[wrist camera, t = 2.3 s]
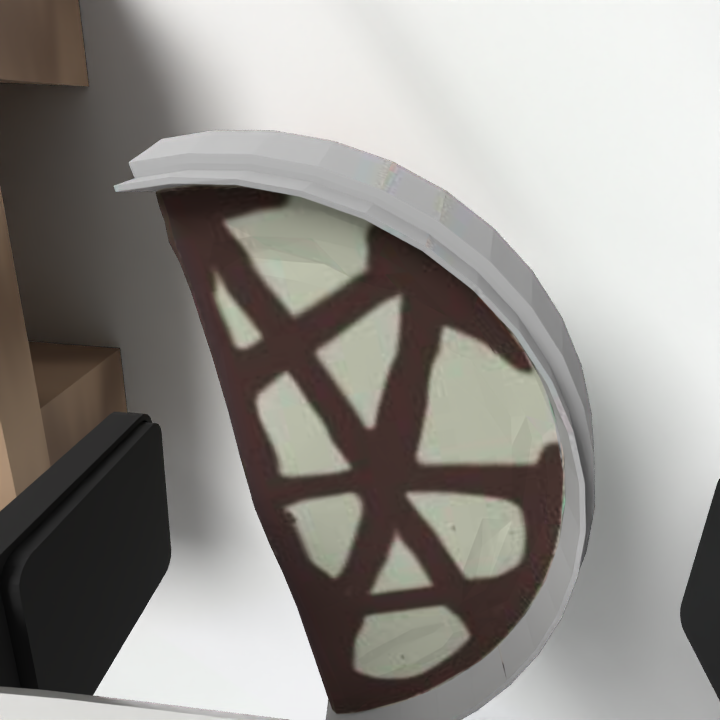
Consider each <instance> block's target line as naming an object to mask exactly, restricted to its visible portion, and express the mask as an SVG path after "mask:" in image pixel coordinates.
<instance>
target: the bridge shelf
mask: <svg viewBox="0 0 720 720" xmlns="http://www.w3.org/2000/svg"><path fill="white" fill-rule="evenodd" d="M0 83H20V84H43V85H67V86H89V83H88V75H87V66H86V58H85V50H84V41H83V33H82V24H81V16H80V7H79V0H0ZM113 412H126V413H127V405H126V396H125V388H124V379H123V371H122V362H121V354H120V348H108V347H95V346H83V345H70V344H57V343H45V342H32V341H28V337H27V332H26V326H25V321H24V315H23V310H22V304H21V298H20V293H19V287H18V282H17V276H16V271H15V265H14V259H13V254H12V248H11V243H10V237H9V232H8V226H7V220H6V215H5V209H4V204H3V198H2V193H1V187H0V511H1V510H2V509H3V508H5V507H6V506H7V505H8V504H9V503H10V502H11V501H12V500H14V499H15V498H16V497H17V496H18V495H19V494H20V493H21V492H23V491H24V490H25V489H26V488H27V487H28V486H29V485H31V484H32V483H33V482H34V481H35V480H36V479H37V478H38V477H40V476H41V475H42V474H43V473H44V472H45V471H46V470H47V469H49V468H50V467H51V466H52V465H53V464H54V463H55V462H57V461H58V460H59V459H60V458H61V457H62V456H63V455H64V454H66V453H67V452H68V451H69V450H70V449H71V448H72V447H73V446H75V445H76V444H77V443H78V442H79V441H80V440H81V439H83V438H84V437H85V436H86V435H87V434H88V433H89V432H90V431H92V430H93V429H94V428H95V427H96V426H97V425H98V424H99V423H101V422H102V421H103V420H104V419H105V418H106V417H107V416H108V415H110V414H111V413H113Z"/></svg>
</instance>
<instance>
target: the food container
mask: <svg viewBox="0 0 720 720" xmlns="http://www.w3.org/2000/svg"><path fill="white" fill-rule="evenodd" d="M128 163H129V165H130V168H131V171H132V173H133V176H134V179H131V180H128V181H125V182H123V183H120V184H117V185H114V189H115V191H116V192H141V191H156V196H157V199H158V203H159V207H160V210H161V212H162V215H163V218H164V221H165V225H166V230H167V234H168V239H169V243H170V245H171V247H172V249H173V250H174V252H175V254H176V256H177V258H178V260H179V262H180V264H181V267H182V270H183V272H184V275H185V277H186V280H187V283H188V285H189V288H190V290H191V293H192V296H193V299H194V302H195V305H196V308H197V311H198V314H199V318H200V321H201V324H202V327H203V330H204V333H205V336H206V339H207V342H208V345H209V348H210V351H211V354H212V357H213V361H214V364H215V368H216V371H217V374H218V378H219V381H220V385H221V388H222V391H223V395H224V398H225V401H226V405H227V408H228V412H229V415H230V419H231V423H232V427H233V431H234V435H235V439H236V442H237V446H238V450H239V454H240V458H241V461H242V465H243V468H244V472H245V475H246V479H247V482H248V486H249V489H250V493H251V497H252V500H253V504H254V507H255V510H256V512H257V515H258V517H259V520H260V522H261V524H262V527H263V529H264V532H265V534H266V536H267V539H268V541H269V544H270V546H271V548H272V550H273V552H274V555H275V557H276V559H277V561H278V563H279V565H280V568H281V570H282V572H283V574H284V577H285V579H286V581H287V584H288V586H289V589H290V591H291V594H292V596H293V598H294V601H295V603H296V606H297V608H298V611H299V614H300V617H301V620H302V623H303V626H304V629H305V632H306V634H307V637H308V640H309V643H310V646H311V649H312V652H313V655H314V658H315V661H316V664H317V667H318V669H319V672H320V675H321V678H322V681H323V684H324V687H325V690H326V693H327V696H328V707H327V714H326V720H461V719H463V718H465V717H467V716H468V715H470V714H472V713H474V712H476V711H477V710H479V709H480V708H481V707H483V706H484V705H485V704H486V703H488V702H489V701H490V700H492V699H493V698H494V697H495V696H497V695H498V694H499V693H501V692H502V691H503V690H504V689H506V688H507V687H508V686H510V685H511V684H512V683H513V682H514V680H515V679H516V678H517V677H518V676H519V675H520V674H521V673H522V672H523V671H524V670H525V668H526V667H527V666H528V665H529V664H530V663H531V662H532V661H533V660H534V659H535V658H536V656H537V655H538V654H539V653H540V651H541V650H542V648H543V647H544V645H545V643H546V642H547V640H548V639H549V637H550V635H551V634H552V632H553V631H554V629H555V628H556V626H557V624H558V623H559V621H560V620H561V618H562V616H563V613H564V611H565V608H566V605H567V603H568V600H569V598H570V595H571V593H572V590H573V588H574V585H575V582H576V580H577V577H578V573H579V569H580V567H581V564H582V562H583V559H584V557H585V554H586V550H587V545H588V540H589V535H590V529H591V524H592V519H593V513H594V508H595V490H594V446H593V429H592V413H591V409H590V404H589V399H588V394H587V389H586V384H585V379H584V375H583V370H582V365H581V363H580V360H579V358H578V355H577V353H576V351H575V348H574V346H573V343H572V341H571V338H570V336H569V333H568V331H567V328H566V326H565V324H564V321H563V319H562V317H561V315H560V313H559V312H558V310H557V309H556V307H555V306H554V304H553V302H552V301H551V299H550V298H549V296H548V294H547V293H546V291H545V290H544V288H543V287H542V285H541V283H540V282H539V280H538V279H537V277H536V276H535V274H534V272H533V271H532V270H531V269H530V267H529V266H528V265H527V264H526V263H525V262H524V261H523V260H522V259H521V258H520V256H519V255H518V254H517V253H516V252H515V251H514V250H513V249H512V248H511V247H510V245H509V244H508V243H507V242H506V241H505V240H504V239H503V238H502V237H501V236H500V234H499V233H498V232H497V231H496V230H495V229H494V228H493V227H492V226H490V225H489V224H488V223H487V222H485V221H484V220H483V219H481V218H480V217H479V216H478V215H476V214H475V213H474V212H473V211H471V210H470V209H469V208H467V207H466V206H465V205H464V204H462V203H461V202H460V201H459V200H457V199H456V198H455V197H453V196H452V195H451V194H450V193H448V192H447V191H446V190H444V189H442V188H440V187H438V186H436V185H435V184H433V183H431V182H429V181H427V180H425V179H424V178H422V177H420V176H418V175H416V174H414V173H413V172H411V171H409V170H407V169H405V168H404V167H402V166H400V165H398V164H396V163H394V162H393V161H390V160H387V159H384V158H381V157H378V156H375V155H373V154H370V153H367V152H364V151H361V150H358V149H355V148H353V147H350V146H347V145H344V144H341V143H338V142H335V141H331V140H326V139H320V138H314V137H308V136H303V135H297V134H291V133H285V132H280V131H274V130H211V131H205V132H199V133H193V134H188V135H182V136H176V137H170V138H164V139H161V140H159V141H158V142H157V143H155V144H154V145H152V146H151V147H149V148H148V149H147V150H145V151H144V152H142V153H141V154H139V155H138V156H137V157H135V158H134V159H132V160H131V161H130V162H128Z"/></svg>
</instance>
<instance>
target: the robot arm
mask: <svg viewBox="0 0 720 720" xmlns="http://www.w3.org/2000/svg"><path fill="white" fill-rule="evenodd" d="M170 558H171V543H170V531H169V519H168V507H167V495H166V483H165V471H164V459H163V446H162V434H161V428H160V426H159V425H158V424H157V423H152V421H151V418H150V417H149V416H148V415H147V414H137V413H126V412H113V413H111V414H110V415H108V416H107V417H106V418H105V419H104V420H103V421H102V422H101V423H99V424H98V425H97V426H96V427H95V428H94V429H93V430H92V431H90V432H89V433H88V434H87V435H86V436H85V437H84V438H83V439H81V440H80V441H79V442H78V443H77V444H76V445H75V446H73V447H72V448H71V449H70V450H69V451H68V452H67V453H66V454H64V455H63V456H62V457H61V458H60V459H59V460H58V461H57V462H55V463H54V464H53V465H52V466H51V467H50V468H49V469H47V470H46V471H45V472H44V473H43V474H42V475H41V476H40V477H38V478H37V479H36V480H35V481H34V482H33V483H32V484H31V485H29V486H28V487H27V488H26V489H25V490H24V491H23V492H21V493H20V494H19V495H18V496H17V497H16V498H15V499H14V500H12V501H11V502H10V503H9V504H8V505H7V506H6V507H5V508H3V509H2V510H1V511H0V720H288V719H280V718H272V717H264V716H256V715H248V714H240V713H231V712H223V711H215V710H207V709H199V708H191V707H183V706H175V705H167V704H159V703H151V702H143V701H135V700H126V699H118V698H109V697H100V696H93V694H94V693H95V691H96V689H97V688H98V686H99V684H100V682H101V681H102V679H103V677H104V676H105V674H106V672H107V671H108V669H109V667H110V666H111V664H112V662H113V661H114V659H115V657H116V656H117V654H118V652H119V651H120V649H121V647H122V646H123V644H124V642H125V641H126V639H127V637H128V635H129V634H130V632H131V630H132V629H133V627H134V625H135V624H136V622H137V620H138V619H139V617H140V615H141V614H142V612H143V610H144V609H145V607H146V605H147V604H148V602H149V600H150V599H151V597H152V595H153V594H154V592H155V590H156V588H157V587H158V585H159V583H160V582H161V580H162V578H163V577H164V575H165V573H166V571H167V569H168V566H169V563H170ZM680 617H681V623H682V627H683V630H684V632H685V634H686V636H687V638H688V640H689V642H690V644H691V646H692V648H693V650H694V651H695V653H696V655H697V657H698V659H699V661H700V663H701V665H702V667H703V669H704V671H705V673H706V675H707V677H708V679H709V681H710V683H711V685H712V687H713V688H714V690H715V692H716V694H717V696H718V698H719V700H720V479H719V481H718V483H717V486H716V489H715V493H714V496H713V499H712V503H711V506H710V509H709V513H708V516H707V520H706V523H705V526H704V530H703V533H702V536H701V540H700V543H699V546H698V550H697V553H696V557H695V560H694V563H693V567H692V570H691V573H690V577H689V580H688V583H687V587H686V590H685V594H684V597H683V600H682V604H681V609H680Z"/></svg>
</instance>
